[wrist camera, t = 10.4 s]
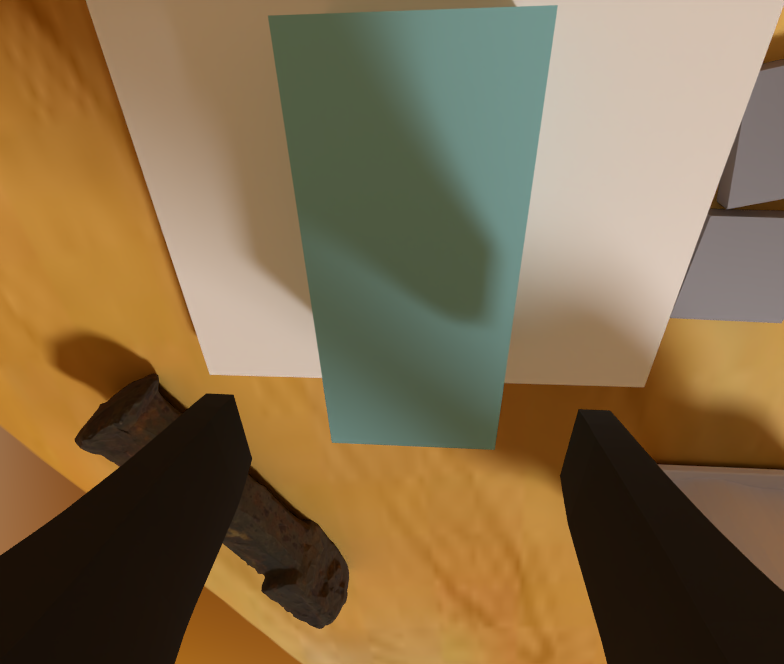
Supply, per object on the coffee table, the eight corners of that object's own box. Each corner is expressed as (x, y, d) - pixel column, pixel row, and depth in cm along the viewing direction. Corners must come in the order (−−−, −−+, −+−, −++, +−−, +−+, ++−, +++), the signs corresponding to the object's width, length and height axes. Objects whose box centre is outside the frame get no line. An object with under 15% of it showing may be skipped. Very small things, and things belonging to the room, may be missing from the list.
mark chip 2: (816, 206, 16) (840, 220, 15) (763, 306, 18) (781, 323, 17) (694, 203, 16) (710, 215, 15) (657, 301, 19) (670, 317, 18)
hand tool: (106, 387, 24) (42, 460, 20) (160, 361, 22) (103, 433, 18) (316, 571, 32) (300, 645, 29) (364, 560, 31) (354, 637, 27)
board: (775, -69, 12) (813, -78, 11) (631, 363, 20) (644, 387, 18) (106, -35, 13) (72, -39, 12) (223, 353, 21) (210, 374, 20)
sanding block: (516, 6, 12) (558, 5, 8) (482, 350, 18) (494, 449, 14) (324, 13, 12) (267, 15, 8) (355, 347, 19) (331, 442, 14)
